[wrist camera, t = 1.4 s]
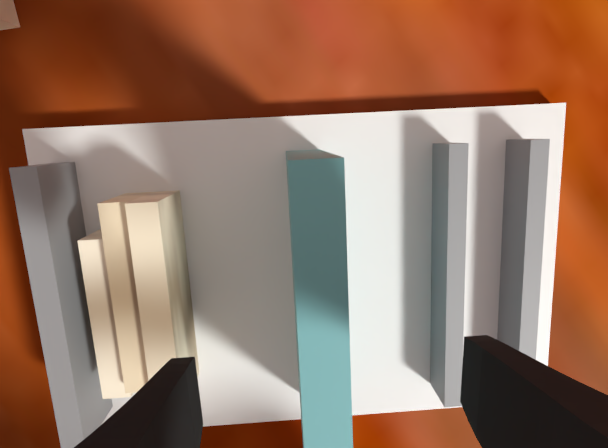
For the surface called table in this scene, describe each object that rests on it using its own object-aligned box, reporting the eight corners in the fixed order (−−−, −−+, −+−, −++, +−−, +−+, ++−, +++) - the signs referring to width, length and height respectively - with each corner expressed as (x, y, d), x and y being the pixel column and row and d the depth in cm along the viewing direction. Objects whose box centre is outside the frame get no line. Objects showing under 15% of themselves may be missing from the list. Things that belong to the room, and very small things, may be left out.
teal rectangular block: (329, 390, 22) (355, 534, 14) (299, 392, 22) (308, 538, 14) (319, 149, 19) (344, 157, 11) (285, 150, 19) (288, 160, 11)
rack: (534, 389, 23) (585, 440, 19) (85, 423, 22) (43, 483, 18) (552, 104, 20) (616, 96, 16) (35, 129, 19) (-28, 127, 16)
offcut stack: (199, 372, 21) (183, 418, 18) (125, 377, 21) (94, 424, 18) (179, 190, 19) (157, 201, 16) (98, 194, 19) (57, 207, 16)
